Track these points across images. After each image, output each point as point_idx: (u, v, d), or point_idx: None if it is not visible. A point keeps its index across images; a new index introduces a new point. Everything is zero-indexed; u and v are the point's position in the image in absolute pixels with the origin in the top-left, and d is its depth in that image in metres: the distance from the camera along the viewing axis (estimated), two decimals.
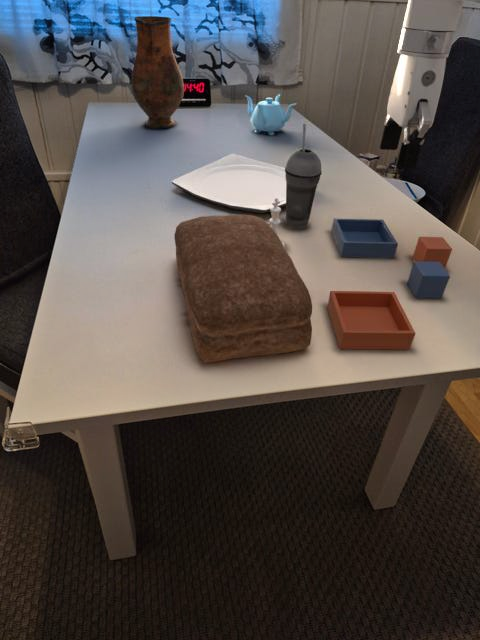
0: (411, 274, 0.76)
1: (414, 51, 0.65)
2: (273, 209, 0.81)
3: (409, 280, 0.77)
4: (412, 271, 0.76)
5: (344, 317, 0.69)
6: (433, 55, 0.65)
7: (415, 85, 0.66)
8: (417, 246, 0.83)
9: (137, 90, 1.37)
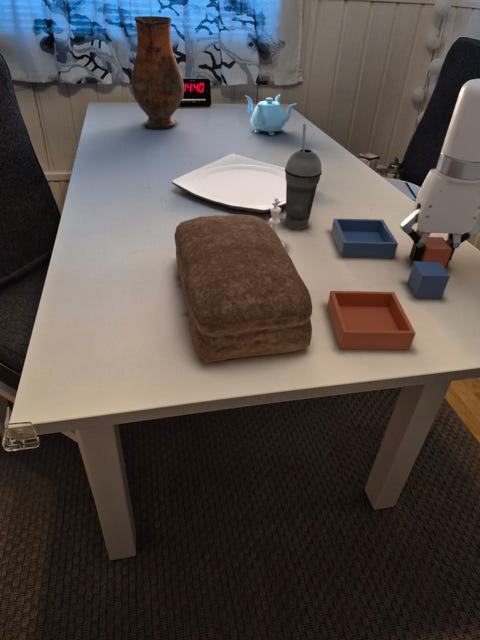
0: (411, 274, 0.76)
1: None
2: (273, 209, 0.81)
3: (409, 280, 0.77)
4: (412, 271, 0.76)
5: (344, 317, 0.69)
6: None
7: None
8: None
9: (137, 90, 1.37)
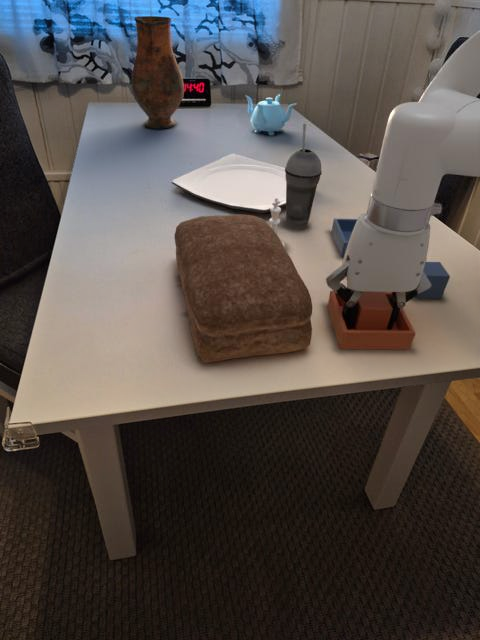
0: None
1: (425, 226, 0.55)
2: (273, 209, 0.81)
3: None
4: None
5: None
6: None
7: None
8: None
9: (137, 90, 1.37)
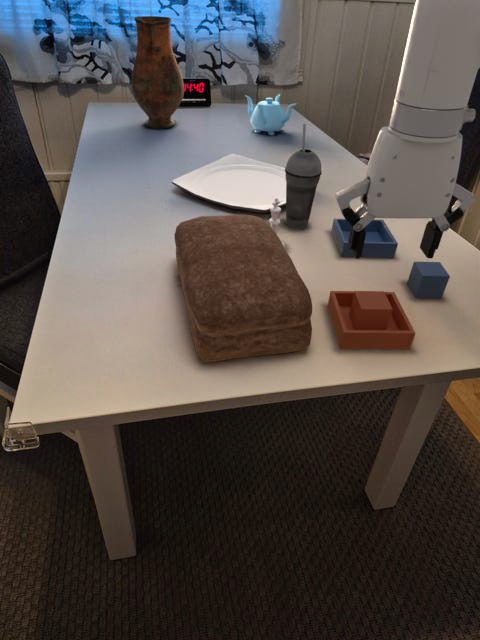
0: (411, 274, 0.76)
1: (457, 133, 0.48)
2: (273, 209, 0.81)
3: (409, 280, 0.77)
4: (412, 271, 0.76)
5: (344, 317, 0.69)
6: None
7: (458, 168, 0.52)
8: (353, 302, 0.67)
9: (137, 90, 1.37)
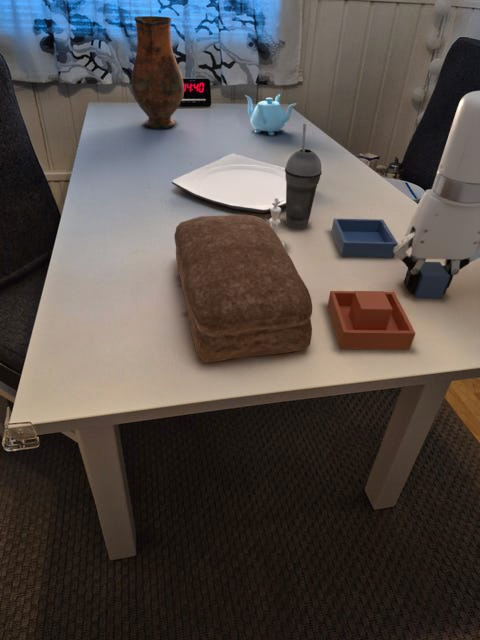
0: None
1: None
2: (273, 209, 0.81)
3: None
4: None
5: (344, 317, 0.69)
6: None
7: None
8: (353, 302, 0.67)
9: (137, 90, 1.37)
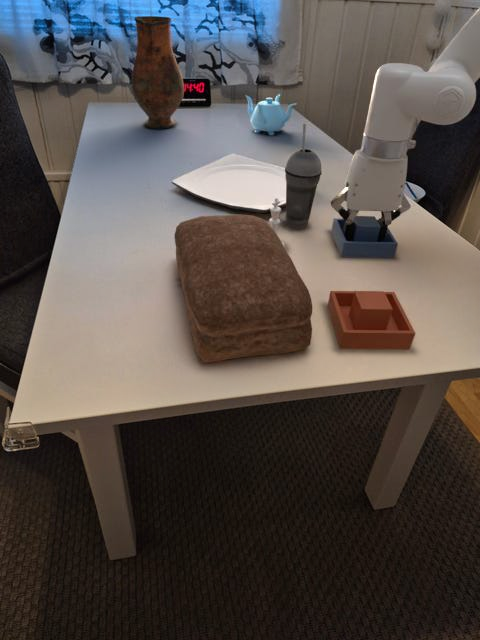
0: None
1: (403, 155, 0.75)
2: (273, 209, 0.81)
3: None
4: None
5: (344, 317, 0.69)
6: None
7: None
8: (353, 302, 0.67)
9: (137, 90, 1.37)
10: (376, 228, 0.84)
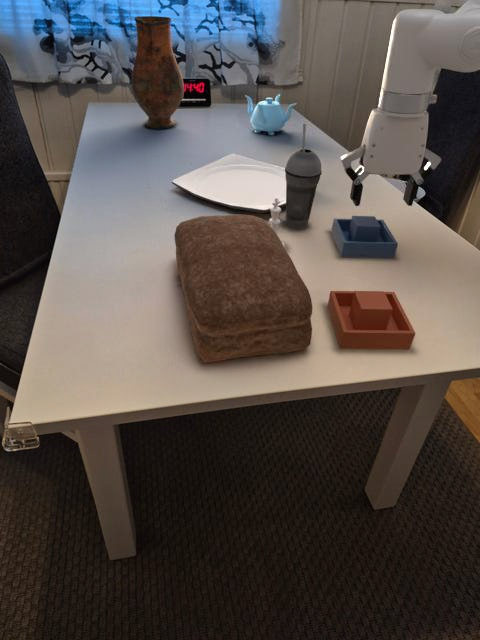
0: (350, 227, 0.88)
1: (424, 111, 0.70)
2: (273, 209, 0.81)
3: (349, 233, 0.89)
4: (351, 224, 0.87)
5: (344, 317, 0.69)
6: None
7: (426, 136, 0.74)
8: (353, 302, 0.67)
9: (137, 90, 1.37)
10: (376, 228, 0.84)
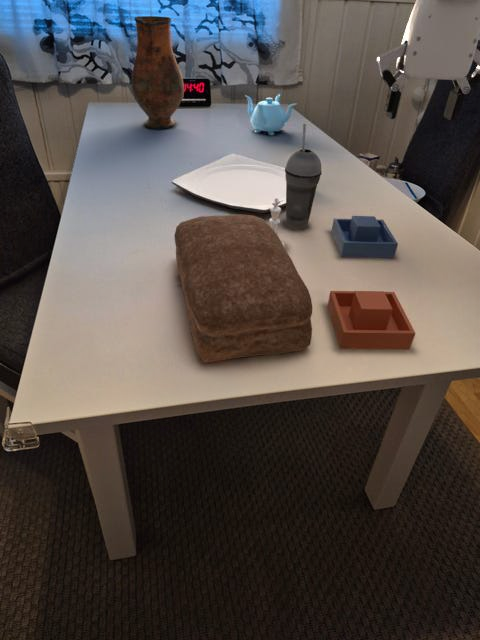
0: (350, 227, 0.88)
1: None
2: (273, 209, 0.81)
3: (349, 233, 0.89)
4: (351, 224, 0.87)
5: (344, 317, 0.69)
6: None
7: None
8: (353, 302, 0.67)
9: (137, 90, 1.37)
10: (376, 228, 0.84)
